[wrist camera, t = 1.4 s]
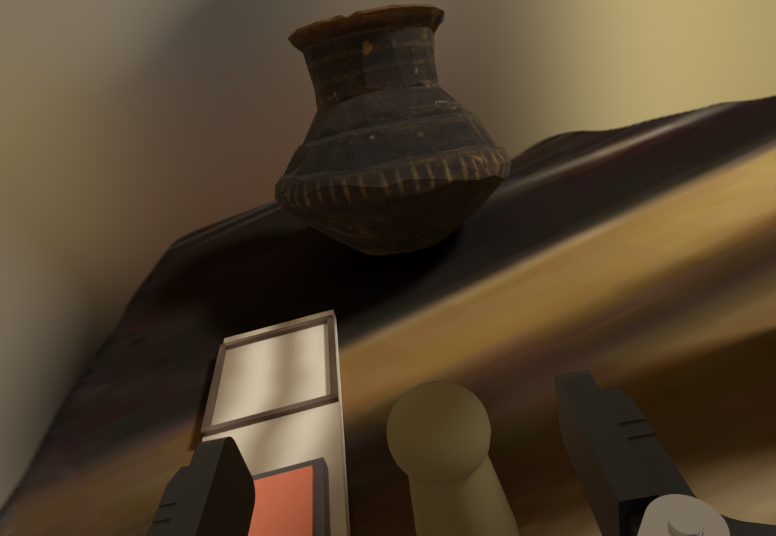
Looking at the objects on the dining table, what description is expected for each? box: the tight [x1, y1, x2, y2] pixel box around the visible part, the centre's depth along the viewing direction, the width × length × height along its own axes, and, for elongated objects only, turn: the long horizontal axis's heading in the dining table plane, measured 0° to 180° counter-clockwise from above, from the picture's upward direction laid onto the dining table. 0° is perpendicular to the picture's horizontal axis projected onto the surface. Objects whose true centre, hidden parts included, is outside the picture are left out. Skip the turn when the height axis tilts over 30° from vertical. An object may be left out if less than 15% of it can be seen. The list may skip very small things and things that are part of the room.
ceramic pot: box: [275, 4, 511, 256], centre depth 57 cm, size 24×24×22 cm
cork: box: [387, 381, 519, 536], centre depth 30 cm, size 6×6×11 cm
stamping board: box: [200, 309, 351, 536], centre depth 40 cm, size 11×32×2 cm, turn 7°
